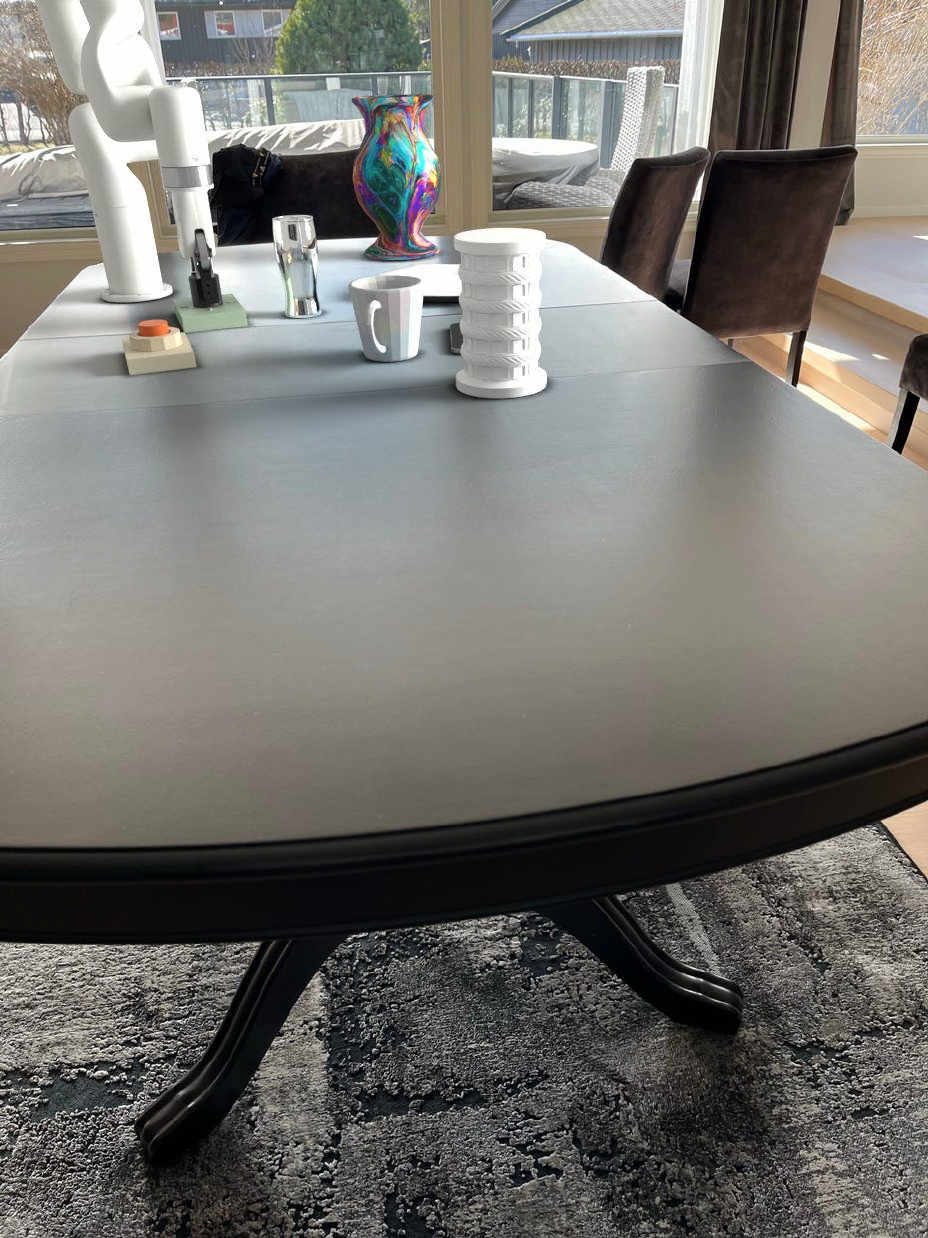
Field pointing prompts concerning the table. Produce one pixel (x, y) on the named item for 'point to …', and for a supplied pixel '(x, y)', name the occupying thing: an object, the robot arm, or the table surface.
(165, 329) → the button
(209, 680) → the table surface
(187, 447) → the table surface
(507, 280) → the decorative container
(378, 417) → the table surface
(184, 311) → the dial panel
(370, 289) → the mug
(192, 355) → the button block
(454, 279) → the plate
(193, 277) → the dial
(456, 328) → the smartphone
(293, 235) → the beer glass
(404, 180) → the vase
